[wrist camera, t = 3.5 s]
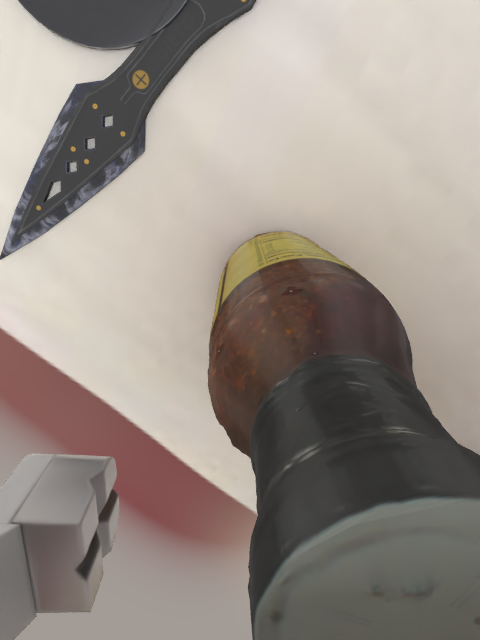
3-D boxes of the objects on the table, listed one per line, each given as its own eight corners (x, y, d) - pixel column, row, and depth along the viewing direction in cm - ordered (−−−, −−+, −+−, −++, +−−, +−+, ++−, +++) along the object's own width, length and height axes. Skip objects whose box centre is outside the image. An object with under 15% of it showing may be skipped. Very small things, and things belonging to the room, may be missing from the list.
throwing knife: (283, -15, 19) (284, -20, 19) (33, 285, 24) (28, 288, 24) (214, -98, 18) (213, -106, 18) (-32, 232, 23) (-38, 233, 23)
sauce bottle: (292, 351, 25) (434, 862, 7) (201, 301, 24) (58, 733, 6) (355, 258, 23) (809, 597, 5) (259, 200, 22) (341, 333, 4)
